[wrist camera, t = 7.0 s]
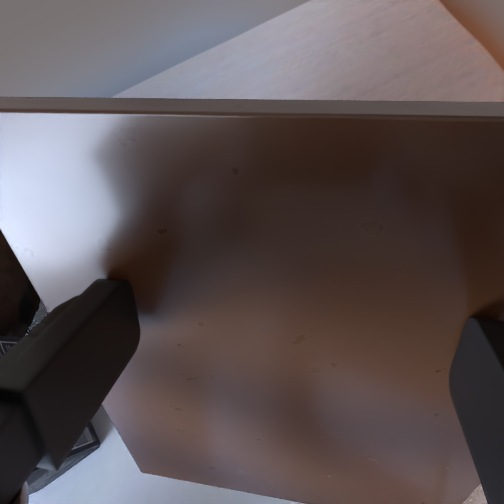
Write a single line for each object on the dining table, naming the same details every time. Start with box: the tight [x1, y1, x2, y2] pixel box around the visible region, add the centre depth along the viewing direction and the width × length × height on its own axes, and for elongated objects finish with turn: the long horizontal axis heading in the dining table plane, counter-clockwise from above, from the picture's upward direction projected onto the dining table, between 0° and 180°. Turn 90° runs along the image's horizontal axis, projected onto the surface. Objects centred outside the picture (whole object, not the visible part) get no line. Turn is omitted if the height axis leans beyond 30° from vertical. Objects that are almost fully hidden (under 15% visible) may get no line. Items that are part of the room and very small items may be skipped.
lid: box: [0, 97, 504, 504], centre depth 12 cm, size 18×14×1 cm
